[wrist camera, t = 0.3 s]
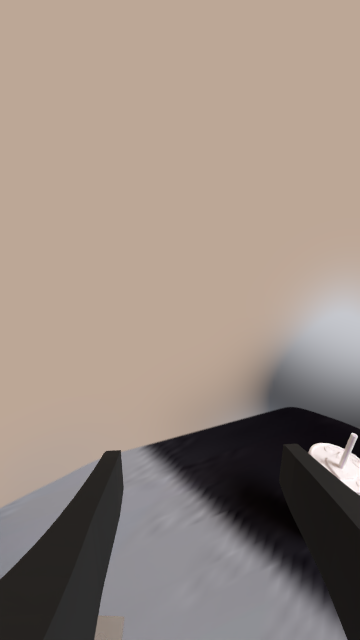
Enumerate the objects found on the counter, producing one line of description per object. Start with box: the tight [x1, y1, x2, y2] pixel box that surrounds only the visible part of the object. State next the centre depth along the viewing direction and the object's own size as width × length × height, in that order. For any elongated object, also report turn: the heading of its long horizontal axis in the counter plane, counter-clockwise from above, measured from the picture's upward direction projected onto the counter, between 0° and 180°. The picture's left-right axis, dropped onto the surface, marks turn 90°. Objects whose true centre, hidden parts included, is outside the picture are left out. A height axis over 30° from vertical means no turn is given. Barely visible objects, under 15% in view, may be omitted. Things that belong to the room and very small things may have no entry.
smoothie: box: [308, 433, 360, 495], centre depth 28 cm, size 6×6×14 cm
